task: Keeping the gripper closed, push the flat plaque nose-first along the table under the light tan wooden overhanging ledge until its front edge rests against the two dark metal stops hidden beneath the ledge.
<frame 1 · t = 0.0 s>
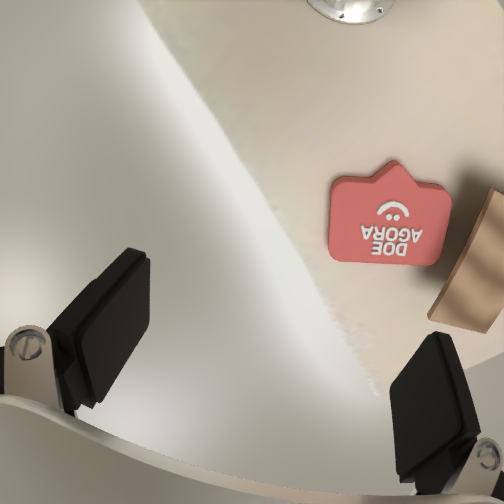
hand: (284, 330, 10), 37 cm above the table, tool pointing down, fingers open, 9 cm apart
plaque: (388, 208, 44), on the table
overhang ledge: (467, 238, 43), on the table
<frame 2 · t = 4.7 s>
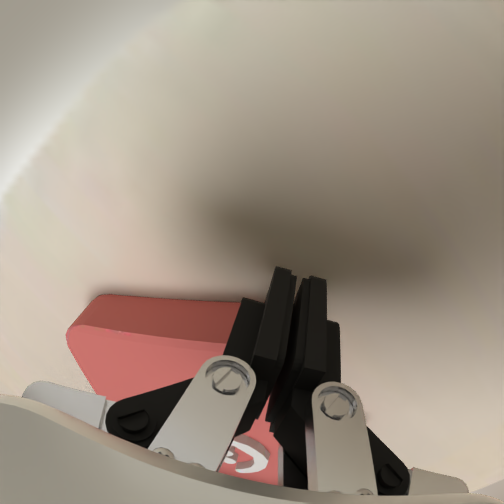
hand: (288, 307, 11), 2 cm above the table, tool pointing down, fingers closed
plaque: (238, 404, 19), on the table, touching gripper
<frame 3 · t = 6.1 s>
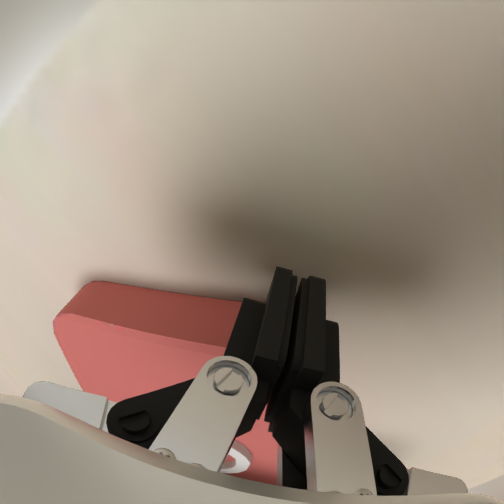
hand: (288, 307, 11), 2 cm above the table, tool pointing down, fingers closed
plaque: (222, 403, 18), on the table, touching gripper
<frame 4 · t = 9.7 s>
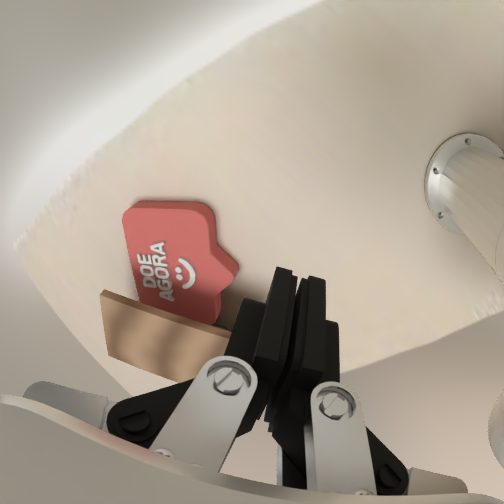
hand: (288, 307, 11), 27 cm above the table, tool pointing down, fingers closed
plaque: (188, 259, 45), on the table
overhang ledge: (194, 306, 48), on the table
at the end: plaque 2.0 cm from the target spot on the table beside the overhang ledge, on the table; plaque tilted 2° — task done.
